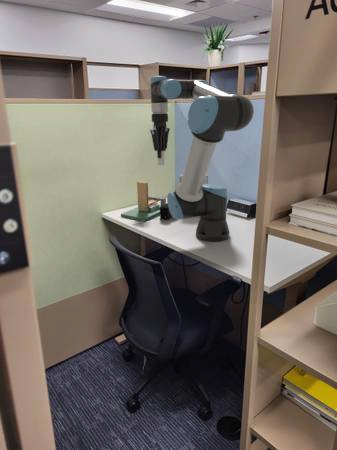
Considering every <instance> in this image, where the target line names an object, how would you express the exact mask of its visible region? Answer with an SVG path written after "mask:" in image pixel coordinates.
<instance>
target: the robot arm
mask: <svg viewBox="0 0 337 450" xmlns="http://www.w3.org/2000/svg"><path fill="white" fill-rule="evenodd" d="M149 86H150V101H151V102H150V103H151V106H150V107H151V122H152V123H153V128H152V129H150V130H149V132H150V135H151V139H152V144H153V150H154V151H155V152H156V153H157V165H158V166H165V152H166V151H167V149H168V143H169V133H170V129H171V128H170V127H168V126H167V123H168V122H169V114H168V112H169V104H168V103H169V101H168V100H175V99H176V100H178V99H180V100H181V99H183V100H184V99H185V100H186V99H189V100H190V99H193V101H192V103H191V105H190V106H189V109H188V112H187V118H188V120H187V125H188V128H189V130H190V133H191V135H192V136H193V138H192V142H191V145H190V149H189V152H188V155H187V160H186V163H185V166H184V170H183V173H182V174H183V177H182V181H181V183H180V182H179V183H178V184H177V185H176V187H175V189H174V191H171V192H169V193H168V194H167V196H166V197H167V198H166V204H167V203H168V208H169V211H170V213H171V215H172V218H173V219H175V220H185V219H191V218H196V217H197V218H198V217H199V220H198V224H197V226H196V229H195V236H196V238H197V239H199V240H202V241H206V242H221V241H225V240H228V239H229V237H230V228H229V225H228V222H227V209H228V208H227V205H228V203H227V202H228V190H227V188H226V187H224V186H222V185H219V184H212V183H208V184H203V182H204V179H205V176H206V174H208V170H209V166H210V165H211V161H212V158H213V155H214V153H215V150H216V147H217V144H218V143H221V142H222V141H223V139H224V136H225V134H226V132H235V131H240V130H243V129H245V128H246V127H247V126H249V124H250V123H251V121H252V120H253V116H254V112H255V111H254V105H253V102H252V101H251V100H250V99H249V98H248V97H246V96H243V95H242V94H239V93H234V94H233V93H232V94H230V93H229V92H226V91H223V90H221V89H219V88H216V87H213V86H211V85H210V83H208V81H207V80H205V79H204V80H203V79H173V78H167V77H166V76H165V75H155V76H154V75H153V76H151V77H150V84H149Z"/></svg>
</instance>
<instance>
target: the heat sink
mask: <svg viewBox="0 0 337 450" xmlns="http://www.w3.org/2000/svg"><path fill="white" fill-rule="evenodd" d="M159 205H160V203H158V202H156V203H153V204H151V205H149V212H152V211H155V210H157V209H159Z"/></svg>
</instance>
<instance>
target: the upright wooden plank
mask: <svg viewBox="0 0 337 450" xmlns="http://www.w3.org/2000/svg"><path fill="white" fill-rule="evenodd" d="M136 185H137V186H136V187H137V192H136V193H137V207H138V211H143V212H149V205H151V204H153V203H158V202H161V200H156V199H152V200H150V201H148V197H149V183H148V182H146V181H136Z"/></svg>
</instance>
